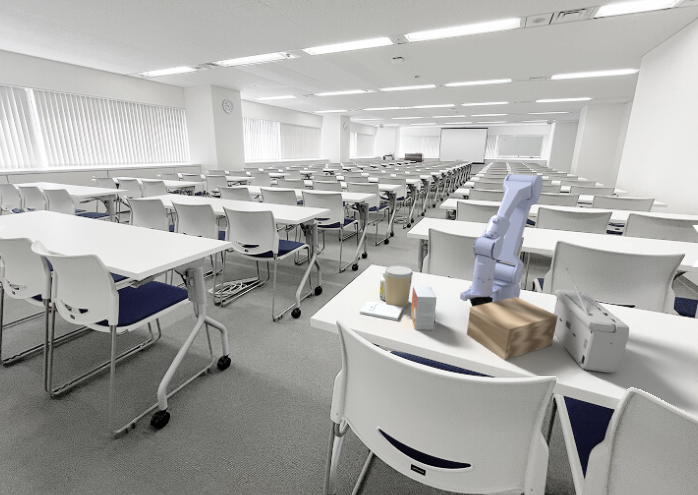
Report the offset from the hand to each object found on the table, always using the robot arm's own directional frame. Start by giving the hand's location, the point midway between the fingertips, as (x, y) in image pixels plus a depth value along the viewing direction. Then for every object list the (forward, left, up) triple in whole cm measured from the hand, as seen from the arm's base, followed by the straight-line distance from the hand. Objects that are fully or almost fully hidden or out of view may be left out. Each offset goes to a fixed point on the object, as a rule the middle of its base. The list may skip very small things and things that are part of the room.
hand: (477, 317), depth 101 cm
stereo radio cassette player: (-13, +23, -1) cm, 26 cm away
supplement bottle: (+18, -25, -1) cm, 31 cm away
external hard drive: (+25, -17, -2) cm, 30 cm away
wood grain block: (0, +12, -1) cm, 12 cm away
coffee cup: (+16, -21, -1) cm, 26 cm away
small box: (+17, -5, -1) cm, 18 cm away
